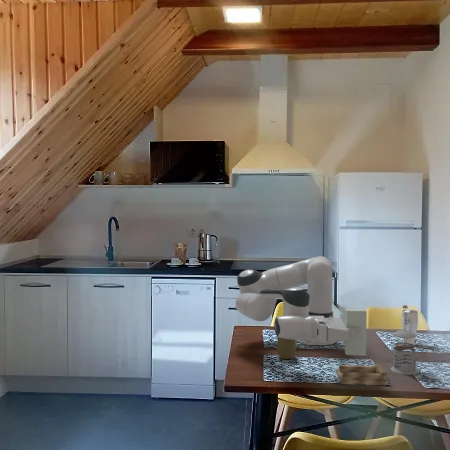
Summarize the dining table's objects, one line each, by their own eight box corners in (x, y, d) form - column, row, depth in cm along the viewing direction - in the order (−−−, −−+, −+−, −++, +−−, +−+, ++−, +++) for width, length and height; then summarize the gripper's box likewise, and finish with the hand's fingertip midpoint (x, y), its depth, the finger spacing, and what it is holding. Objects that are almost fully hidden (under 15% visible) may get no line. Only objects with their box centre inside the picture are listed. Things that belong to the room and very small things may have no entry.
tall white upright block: (346, 355, 171) (346, 310, 171) (344, 352, 175) (345, 308, 174) (366, 355, 170) (366, 311, 170) (364, 352, 174) (364, 309, 173)
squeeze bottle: (297, 355, 199) (298, 312, 199) (294, 361, 192) (294, 316, 191) (278, 353, 202) (279, 311, 202) (274, 359, 194) (274, 315, 194)
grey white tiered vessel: (393, 364, 188) (394, 301, 188) (424, 369, 183) (425, 304, 182) (388, 371, 180) (388, 305, 179) (421, 377, 174) (422, 309, 173)
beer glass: (415, 342, 220) (415, 309, 220) (419, 346, 213) (420, 313, 213) (399, 341, 221) (400, 309, 221) (403, 345, 214) (404, 312, 214)
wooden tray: (341, 383, 167) (341, 372, 167) (335, 371, 180) (335, 360, 180) (387, 385, 166) (388, 374, 165) (379, 372, 179) (379, 362, 178)
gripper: (316, 329, 184) (353, 330, 183) (322, 344, 164) (363, 345, 162) (316, 313, 184) (353, 314, 182) (322, 326, 163) (363, 327, 162)
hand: (358, 329), depth 172 cm, fingers closed on tall white upright block, 3 cm apart
